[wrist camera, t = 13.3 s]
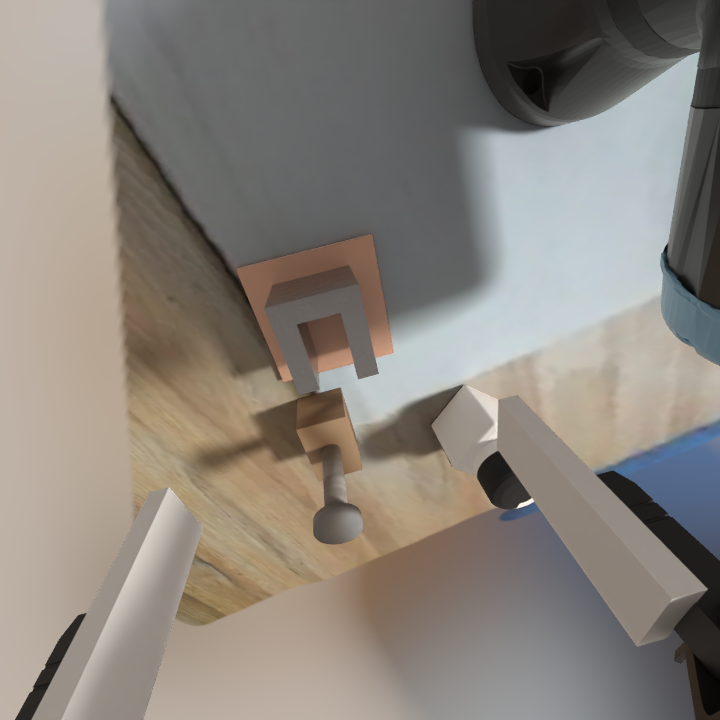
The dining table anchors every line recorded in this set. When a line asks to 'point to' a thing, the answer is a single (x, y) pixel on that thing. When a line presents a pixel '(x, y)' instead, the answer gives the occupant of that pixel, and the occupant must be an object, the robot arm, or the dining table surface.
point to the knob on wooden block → (331, 462)
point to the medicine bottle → (479, 446)
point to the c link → (314, 301)
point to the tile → (328, 329)
